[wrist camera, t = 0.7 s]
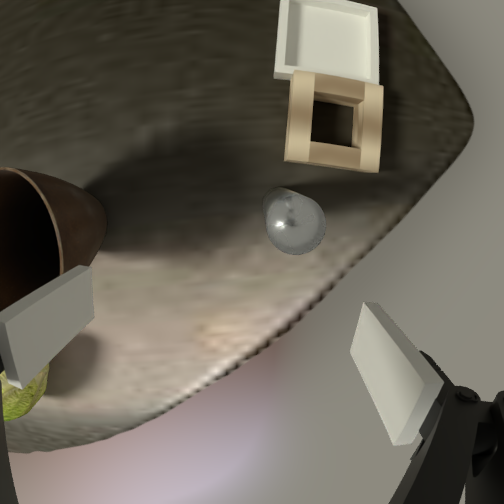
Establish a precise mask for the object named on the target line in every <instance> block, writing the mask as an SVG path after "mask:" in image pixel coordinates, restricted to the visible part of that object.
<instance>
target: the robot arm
mask: <svg viewBox="0 0 504 504" xmlns="http://www.w3.org/2000/svg"><path fill="white" fill-rule="evenodd" d="M93 319H94V306H93V290H92V267H88V266H82V265H78V266H76V267H75V268H73V269H71V270H69V271H68V272H66V273H64V274H62V275H61V276H59V277H57V278H55V279H54V280H52V281H50V282H49V283H47V284H45V285H43V286H42V287H40V288H38V289H37V290H35V291H33V292H32V293H30V294H28V295H27V296H25V297H24V298H22V299H20V300H19V301H17V302H15V303H13V304H11V305H10V306H8V307H7V308H5V309H3V310H2V311H0V374H1V373H2V372H3V371H5V374H6V377H7V380H8V383H9V384H11V385H13V386H15V387H18V388H20V389H22V390H23V389H24V388H25V387H26V385H27V384H28V383H29V382H30V381H31V380H32V379H33V378H34V377H35V376H36V375H37V374H38V373H39V372H40V371H41V370H42V369H43V368H44V367H45V366H46V365H47V364H48V363H49V362H50V361H51V360H52V359H53V358H54V357H55V356H56V355H57V354H58V353H59V352H60V351H61V350H62V349H63V348H64V347H65V346H66V345H67V344H68V343H69V342H70V341H71V340H72V339H73V338H74V337H75V336H76V335H77V334H78V333H79V332H80V331H81V330H82V329H83V328H84V327H85V326H86V325H87V324H88V323H89V322H91V321H92V320H93ZM350 353H351V355H352V357H353V359H354V361H355V363H356V366H357V368H358V370H359V372H360V374H361V376H362V378H363V380H364V382H365V384H366V386H367V389H368V391H369V392H370V395H371V397H372V399H373V401H374V403H375V406H376V408H377V410H378V412H379V414H380V417H381V419H382V421H383V423H384V425H385V428H386V430H387V432H388V434H389V437H390V439H391V441H392V443H393V445H394V446H396V445H404V444H411V443H412V442H413V441H414V439H415V437H416V436H417V434H418V432H420V434H421V436H422V437H423V439H422V441H421V443H420V445H419V446H418V448H417V449H416V451H415V452H414V454H413V455H412V457H411V459H410V460H412V461H411V463H410V465H409V467H408V469H407V471H406V473H405V475H404V477H403V479H402V481H401V483H400V484H399V486H398V488H397V490H396V492H395V494H394V495H393V497H392V499H391V500H390V502H389V504H459V502H460V498H461V495H462V492H463V489H464V485H465V504H504V391H501V392H499V393H498V394H497V395H496V397H495V399H494V401H493V402H486V401H485V402H484V401H481V400H480V397H479V396H478V394H477V393H476V392H474V391H473V390H471V389H469V388H467V387H463V386H454V384H453V383H452V382H451V381H450V379H449V378H448V377H447V376H446V375H445V373H444V372H443V371H441V369H440V367H439V366H438V365H436V363H435V362H434V360H433V359H432V358H431V357H430V356H429V355H427V354H426V353H424V352H423V351H418V349H417V348H416V347H415V346H414V345H413V343H412V342H411V341H410V340H409V339H408V337H407V336H406V335H405V334H404V333H403V332H402V330H401V329H400V328H399V327H398V326H397V325H396V323H395V322H394V321H393V320H392V319H391V318H390V316H389V315H388V314H387V313H386V312H385V311H384V310H383V309H382V307H381V306H380V305H379V304H378V303H371V302H363V306H362V310H361V313H360V317H359V322H358V325H357V329H356V332H355V336H354V340H353V343H352V347H351V350H350ZM0 504H19V503H18V499H17V496H16V492H15V487H14V482H13V478H12V473H11V468H10V462H9V456H8V450H7V443H6V435H5V426H4V416H3V402H2V383H1V380H0Z"/></svg>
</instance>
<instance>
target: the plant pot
mask: <svg viewBox="0 0 504 504" xmlns="http://www.w3.org/2000/svg"><path fill="white" fill-rule="evenodd" d="M106 230H107V216H106V213H105V210H104V208H103V206H102V205H101V203H100V202H99V201H98V200H97V199H96V198H95V197H94V196H92V195H91V194H89V193H88V192H86V191H84V190H83V189H81V188H79V187H77V186H75V185H73V184H71V183H69V182H66V181H64V180H61V179H58V178H56V177H52V176H49V175H46V174H41V173H37V172H32V171H27V170H22V169H16V168H10V167H0V311H2V310H3V309H5V308H7V307H8V306H10V305H11V304H13V303H15V302H17V301H19V300H20V299H22V298H24V297H25V296H27V295H28V294H30V293H32V292H33V291H35V290H37V289H38V288H40V287H42V286H43V285H45V284H47V283H49V282H50V281H52V280H54V279H55V278H57V277H59V276H61V275H62V274H64V273H66V272H68V271H69V270H71V269H73V268H75V267H76V266H78V265H82V266H88V267H89V266H90V264H91V262H92V261H93V259H94V257H95V256H96V254H97V252H98V250H99V248H100V246H101V244H102V242H103V239H104V237H105V234H106Z"/></svg>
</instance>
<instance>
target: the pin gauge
mask: <svg viewBox="0 0 504 504" xmlns="http://www.w3.org/2000/svg"><path fill="white" fill-rule="evenodd" d="M262 205H263V212H264V218H265V224H266V230H267V234H268V237H269V239H270V241H271V242H272V243H273V245H274V246H275V247H276V248H278V249H279V250H280V251H282V252H284V253H287V254H292V255H300V254H305V253H307V252H310V251H311V250H313V249H314V248H315V247H317V246H318V245H319V243H320V242H321V240H322V239H323V237H324V234H325V230H326V219H325V215H324V212H323V210H322V209H321V207H320V206H319V205H318V204H317V203H316V202H315V201H314V200H312V199H310V198H308V197H306V196H304V195H301V194H299V193H296V192H294V191H291V190H289V189H286V188H283V187H276V188H273V189H271V190H270V191H268V192H267V193H266V195H265V196H264V199H263V204H262Z"/></svg>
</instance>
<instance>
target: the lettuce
mask: <svg viewBox="0 0 504 504" xmlns="http://www.w3.org/2000/svg"><path fill="white" fill-rule="evenodd" d="M48 372H49V363H48V364H47V365H46V366H45V367H44V368H43V369H42V370H41V371H40V372H39V373H38V374H37V375H36V376H35V377H34V378H33V379H32V380H31V381H30V382H29V383H28V384H27V385H26V387H25V388H24V389H23V390H22V389H20V388H18V387H15V386H13V385H11V384H9V383H8V380H7V377H6V374H5V371H3V372H2V373H1V374H0V380H1V383H2V402H3V416H4V421H10V420H13V419H16V418H19V417H21V416H23V415H25V414H27V413H28V412H29V411H30V410H31V409H32V407H33V406H34V405H35V404H36V403H37V402H38V401H39V399H40V398H41V397H42V395H43V394H44V392H45V389H46V386H47V377H48Z"/></svg>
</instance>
